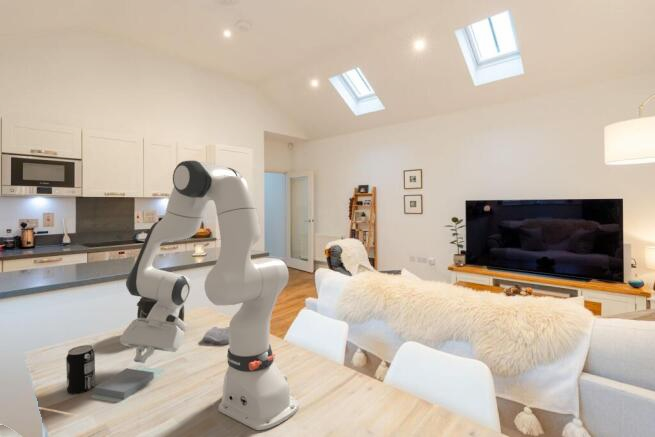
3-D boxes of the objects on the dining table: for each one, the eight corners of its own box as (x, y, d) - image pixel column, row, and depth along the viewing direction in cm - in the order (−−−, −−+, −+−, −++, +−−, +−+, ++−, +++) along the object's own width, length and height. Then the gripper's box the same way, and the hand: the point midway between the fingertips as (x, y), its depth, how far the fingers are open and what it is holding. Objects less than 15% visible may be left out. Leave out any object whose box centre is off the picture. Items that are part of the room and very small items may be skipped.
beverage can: (65, 389, 96) (64, 349, 95) (92, 381, 101) (92, 342, 100) (68, 399, 91) (67, 356, 91) (97, 389, 96) (96, 349, 95)
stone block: (230, 349, 127) (239, 334, 137) (229, 338, 126) (238, 324, 136) (201, 349, 128) (212, 334, 138) (199, 338, 127) (210, 324, 137)
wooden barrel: (128, 334, 136) (127, 296, 135) (171, 322, 150) (170, 288, 150) (148, 346, 125) (148, 305, 124) (192, 332, 139) (192, 295, 139)
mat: (166, 371, 107) (166, 370, 107) (120, 403, 89) (120, 402, 89) (140, 367, 109) (140, 366, 109) (90, 398, 92) (90, 397, 92)
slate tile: (126, 368, 103) (94, 387, 93) (153, 372, 101) (124, 392, 91) (126, 374, 104) (94, 394, 93) (153, 379, 101) (124, 399, 91)
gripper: (129, 313, 111) (104, 354, 102) (182, 318, 106) (161, 362, 97) (140, 321, 115) (117, 361, 106) (191, 327, 111) (172, 369, 102)
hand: (138, 362), depth 102 cm, fingers closed
